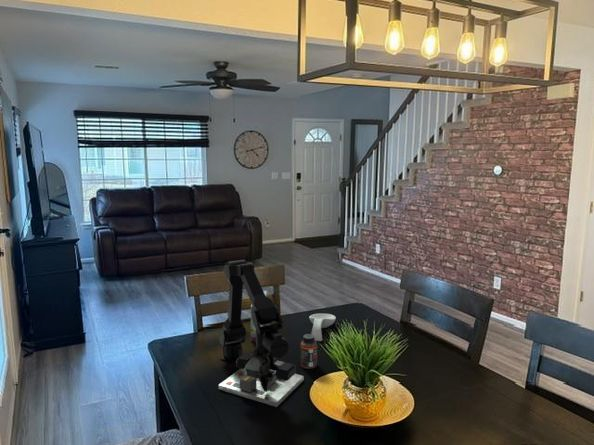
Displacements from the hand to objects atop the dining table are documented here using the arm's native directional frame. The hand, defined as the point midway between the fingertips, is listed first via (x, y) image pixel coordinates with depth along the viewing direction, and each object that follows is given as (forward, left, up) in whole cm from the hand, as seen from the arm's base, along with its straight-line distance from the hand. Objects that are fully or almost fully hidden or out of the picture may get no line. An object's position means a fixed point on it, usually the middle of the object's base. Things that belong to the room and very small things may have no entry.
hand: (266, 391), depth 140 cm
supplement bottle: (+2, +25, -3) cm, 26 cm away
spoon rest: (-7, +57, -3) cm, 57 cm away
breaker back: (-3, +13, -1) cm, 13 cm away
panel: (-6, +6, -2) cm, 9 cm away
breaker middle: (-3, +6, -1) cm, 7 cm away
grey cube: (-7, 0, -1) cm, 7 cm away
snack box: (-30, +43, -3) cm, 53 cm away
